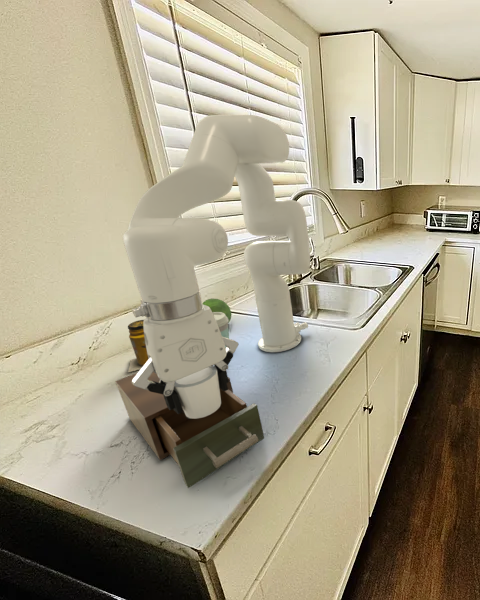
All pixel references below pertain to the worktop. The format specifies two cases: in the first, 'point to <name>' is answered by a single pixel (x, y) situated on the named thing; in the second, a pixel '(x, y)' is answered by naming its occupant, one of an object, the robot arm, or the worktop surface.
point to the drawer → (209, 436)
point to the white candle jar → (199, 393)
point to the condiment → (137, 345)
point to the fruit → (218, 307)
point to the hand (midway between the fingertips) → (200, 397)
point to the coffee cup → (222, 323)
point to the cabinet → (146, 410)
